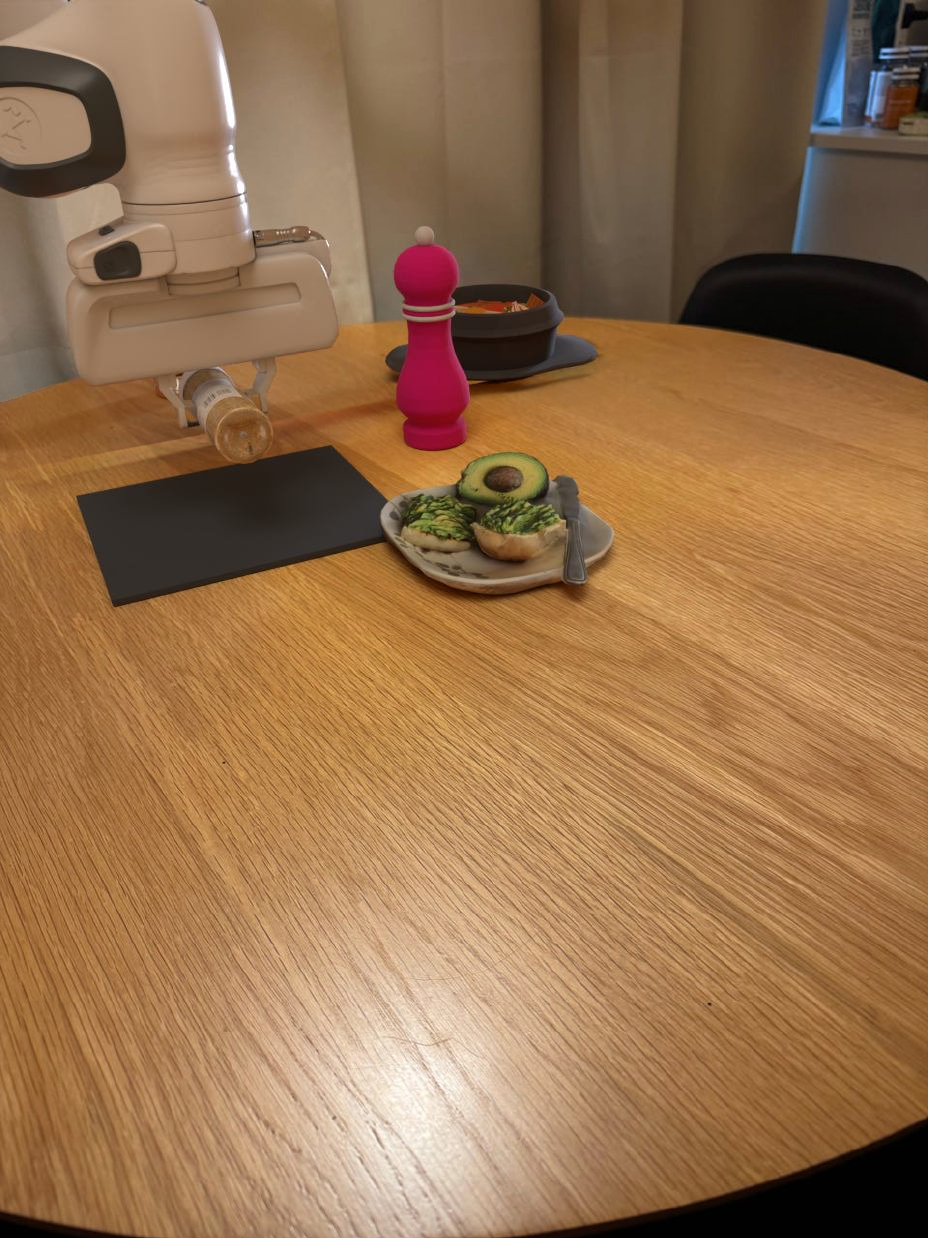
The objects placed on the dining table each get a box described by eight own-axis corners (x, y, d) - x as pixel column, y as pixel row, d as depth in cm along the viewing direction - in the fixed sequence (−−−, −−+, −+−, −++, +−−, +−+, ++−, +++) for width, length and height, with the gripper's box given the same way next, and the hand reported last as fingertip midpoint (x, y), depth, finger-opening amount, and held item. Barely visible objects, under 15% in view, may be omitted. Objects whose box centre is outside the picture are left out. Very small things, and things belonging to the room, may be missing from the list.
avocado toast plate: (676, 582, 71) (683, 525, 69) (452, 634, 65) (451, 575, 63) (552, 481, 86) (555, 432, 84) (361, 517, 80) (358, 465, 78)
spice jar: (286, 432, 74) (241, 385, 84) (241, 394, 71) (201, 350, 81) (246, 478, 74) (207, 425, 84) (200, 441, 71) (165, 391, 82)
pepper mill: (456, 456, 93) (447, 234, 82) (387, 448, 95) (369, 232, 85) (481, 429, 99) (475, 219, 88) (415, 423, 101) (402, 217, 90)
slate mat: (113, 607, 71) (111, 600, 70) (77, 501, 87) (75, 495, 87) (416, 533, 79) (416, 527, 79) (331, 450, 95) (331, 444, 95)
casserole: (579, 342, 124) (581, 273, 120) (613, 388, 108) (616, 311, 104) (383, 354, 122) (378, 285, 118) (389, 403, 107) (383, 325, 102)
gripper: (313, 216, 77) (332, 386, 84) (42, 247, 70) (88, 430, 77) (340, 228, 72) (357, 407, 80) (52, 262, 65) (99, 456, 72)
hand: (223, 419), depth 78 cm, fingers closed on spice jar, 4 cm apart
